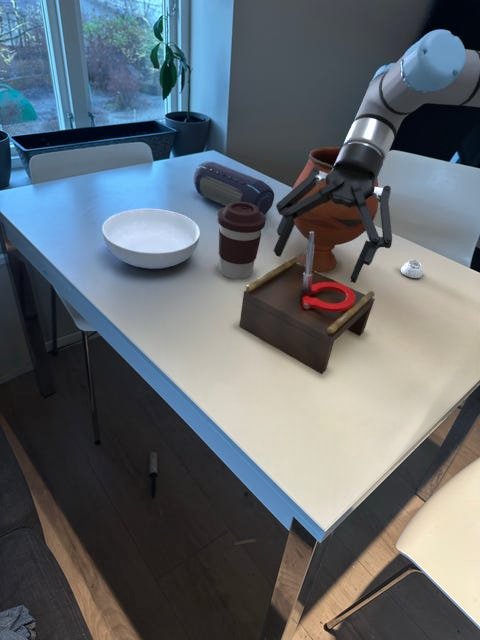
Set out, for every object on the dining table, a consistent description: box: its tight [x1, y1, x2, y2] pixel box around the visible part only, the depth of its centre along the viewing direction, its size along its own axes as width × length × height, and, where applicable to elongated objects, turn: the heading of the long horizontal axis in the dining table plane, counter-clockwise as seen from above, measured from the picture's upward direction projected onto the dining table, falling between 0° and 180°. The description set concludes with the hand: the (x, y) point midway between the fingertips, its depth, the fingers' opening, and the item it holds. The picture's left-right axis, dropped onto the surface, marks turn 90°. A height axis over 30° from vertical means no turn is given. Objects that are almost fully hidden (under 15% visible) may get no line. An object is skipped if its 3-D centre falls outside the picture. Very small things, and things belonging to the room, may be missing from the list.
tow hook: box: [301, 231, 355, 312], centre depth 74 cm, size 8×13×9 cm
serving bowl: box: [101, 208, 201, 269], centre depth 99 cm, size 21×21×7 cm
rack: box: [239, 256, 376, 375], centre depth 82 cm, size 18×16×10 cm
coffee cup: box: [216, 202, 267, 280], centre depth 95 cm, size 10×10×15 cm
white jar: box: [400, 259, 424, 279], centre depth 106 cm, size 5×3×5 cm
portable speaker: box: [193, 161, 275, 215], centre depth 125 cm, size 25×10×10 cm, turn 50°
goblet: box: [292, 146, 379, 273], centre depth 99 cm, size 19×19×25 cm
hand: (313, 266), depth 74 cm, fingers open, 13 cm apart
